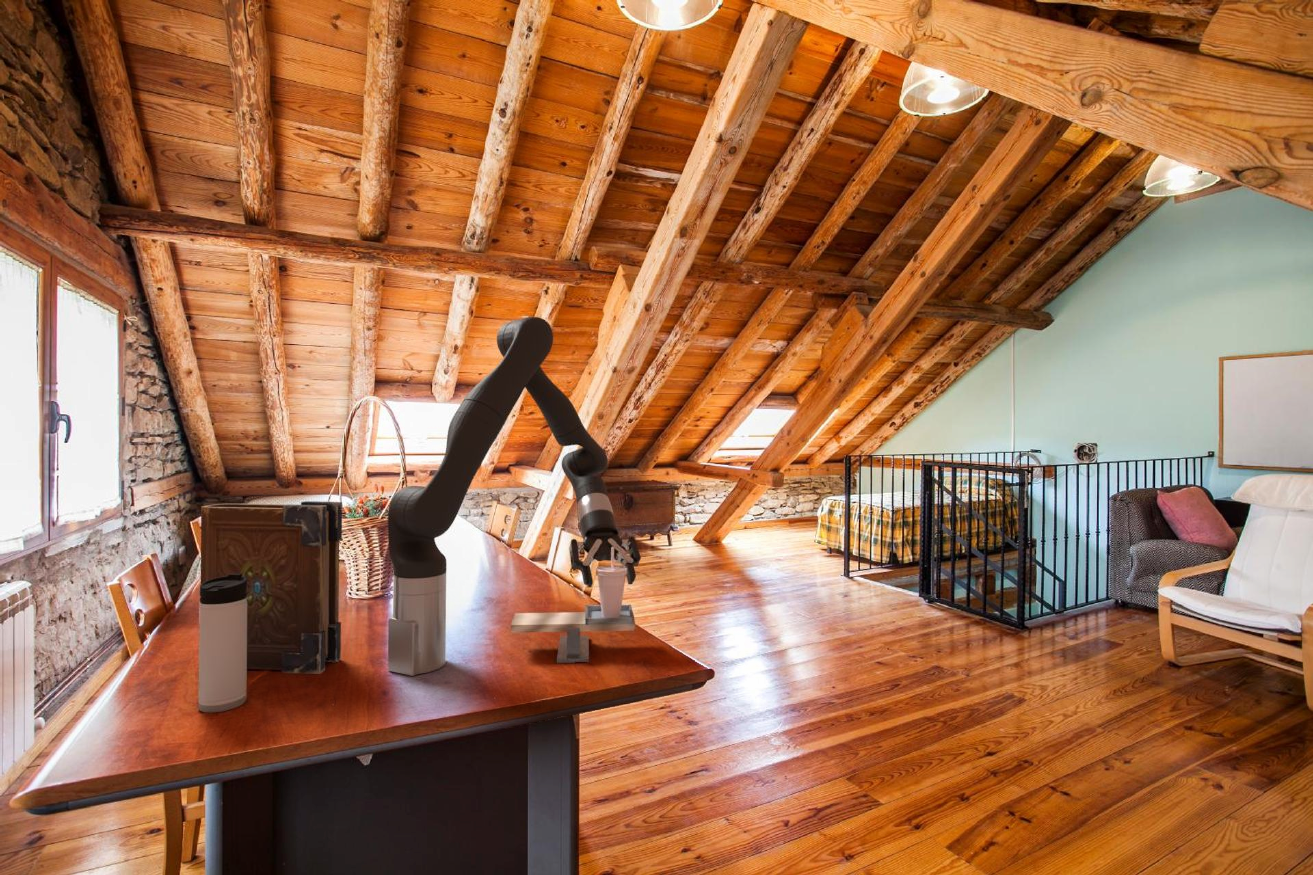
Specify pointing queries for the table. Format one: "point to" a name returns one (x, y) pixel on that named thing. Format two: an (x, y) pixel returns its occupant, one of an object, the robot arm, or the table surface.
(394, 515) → the robot arm
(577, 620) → the balance beam
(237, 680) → the travel mug
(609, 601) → the smoothie
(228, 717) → the table surface
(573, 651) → the pivot stand
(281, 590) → the decorative book
